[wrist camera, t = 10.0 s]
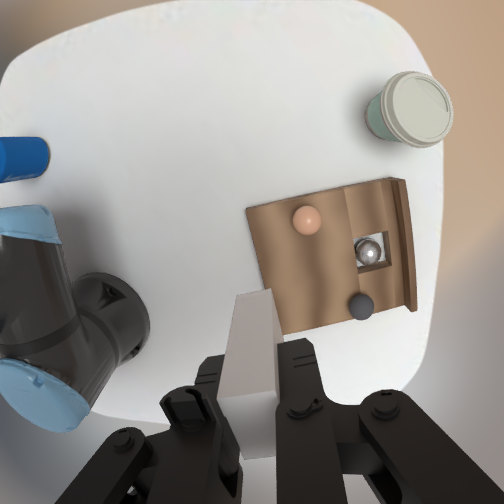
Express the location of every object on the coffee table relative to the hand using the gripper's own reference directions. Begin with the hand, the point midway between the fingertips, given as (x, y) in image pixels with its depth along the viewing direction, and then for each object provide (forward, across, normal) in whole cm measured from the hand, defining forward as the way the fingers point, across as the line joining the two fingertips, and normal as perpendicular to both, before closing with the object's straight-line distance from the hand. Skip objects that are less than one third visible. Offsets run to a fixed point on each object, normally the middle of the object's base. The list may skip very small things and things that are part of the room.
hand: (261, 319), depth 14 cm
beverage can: (+30, -32, +18) cm, 47 cm away
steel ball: (+28, +13, -8) cm, 31 cm away
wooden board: (+29, +8, -8) cm, 32 cm away
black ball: (+25, +10, -14) cm, 31 cm away
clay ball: (+25, +5, -2) cm, 26 cm away
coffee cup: (+30, +19, +9) cm, 36 cm away
